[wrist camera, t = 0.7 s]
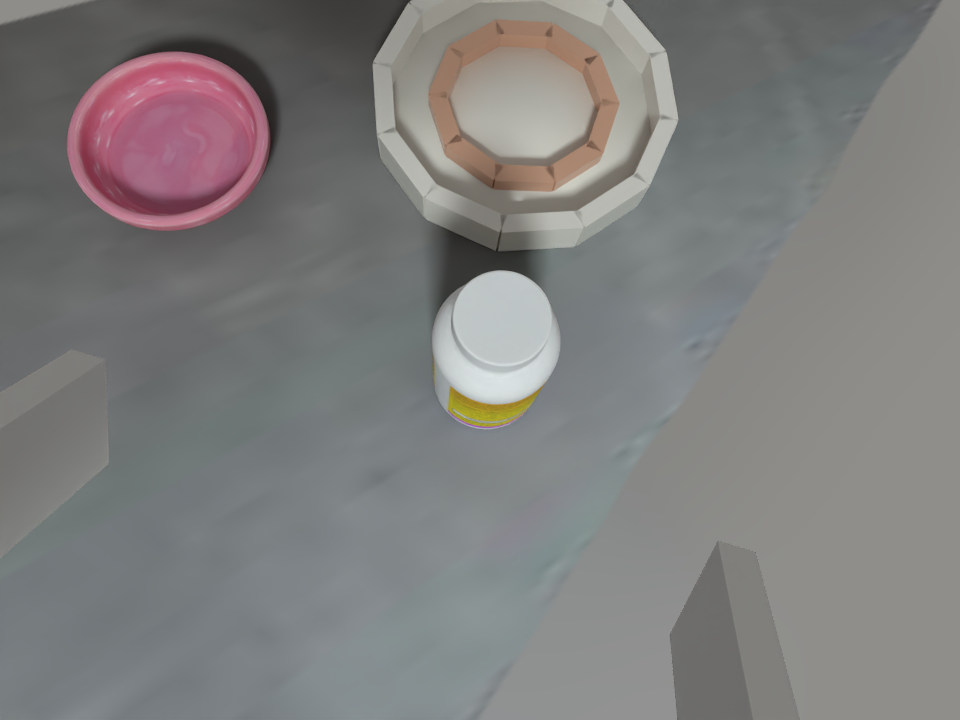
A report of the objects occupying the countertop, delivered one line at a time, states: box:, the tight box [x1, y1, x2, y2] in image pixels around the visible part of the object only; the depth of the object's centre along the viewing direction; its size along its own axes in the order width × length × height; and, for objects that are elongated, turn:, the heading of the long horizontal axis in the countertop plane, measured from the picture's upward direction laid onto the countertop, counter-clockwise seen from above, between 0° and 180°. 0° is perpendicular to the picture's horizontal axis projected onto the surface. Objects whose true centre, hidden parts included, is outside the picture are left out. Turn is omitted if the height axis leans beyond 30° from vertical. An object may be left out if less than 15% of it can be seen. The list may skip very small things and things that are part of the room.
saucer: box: [67, 52, 270, 231], centre depth 46 cm, size 12×12×3 cm
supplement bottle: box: [432, 270, 561, 429], centre depth 38 cm, size 7×7×13 cm
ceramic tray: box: [373, 0, 678, 252], centre depth 48 cm, size 20×20×3 cm
